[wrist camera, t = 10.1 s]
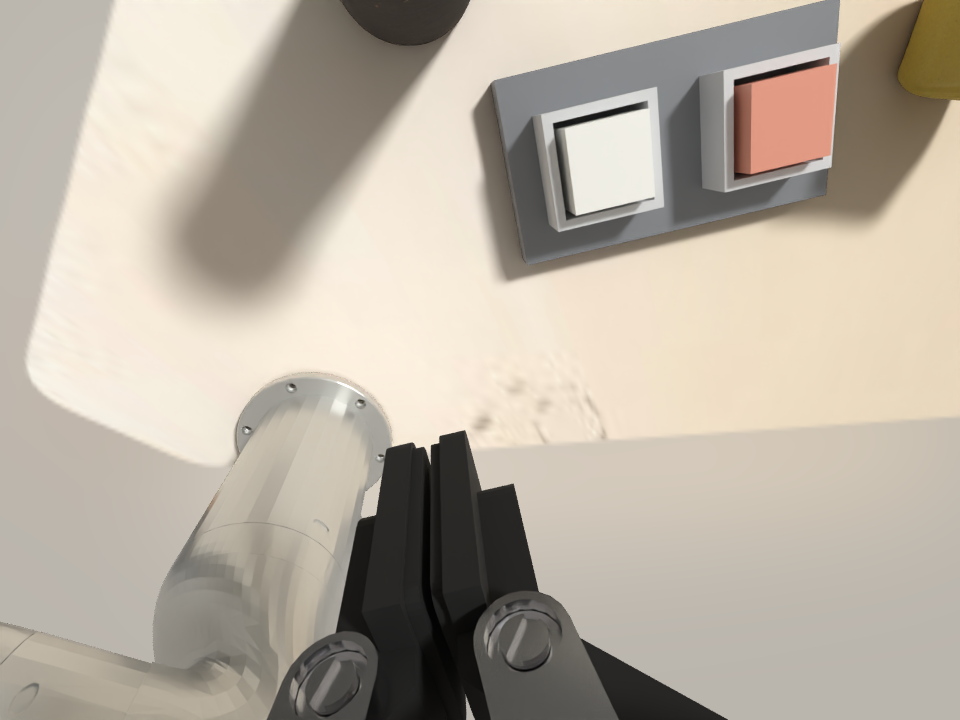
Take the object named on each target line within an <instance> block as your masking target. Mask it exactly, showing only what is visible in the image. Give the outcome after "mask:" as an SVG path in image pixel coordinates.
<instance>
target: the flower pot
mask: <svg viewBox="0 0 960 720" xmlns="http://www.w3.org/2000/svg"><path fill="white" fill-rule="evenodd" d="M897 78H898V81H899V83H900V84H901V85H902V86H903V88H904V89H906V90H907V91H908V92H910V93H912V94H915V95H918V96H922V97H928V98H936V99H950V100H960V0H924V1H923V4H922V7H921V10H920V12H919V15H918V18H917V21H916V24H915V27H914V29H913V32H912V35H911V38H910V41H909V44H908V46H907V49H906V52H905V54H904V57H903V60H902V63H901V65H900V68H899V71H898V75H897Z"/></svg>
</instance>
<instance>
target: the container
mask: <svg viewBox="0 0 960 720" xmlns="http://www.w3.org/2000/svg"><path fill="white" fill-rule="evenodd" d="M341 2H342V3H343V5H344V6H345V8H346V9H347V10H348V12H349V13H350V14H351V16H352V17H353V18H354V19H355V20H356V21H357V22H358V24H359V25H361V26H362V27H363V28H364V29H365V30H366V31H368V32H369V33H371V34H372V35H374V36H375V37H377V38H379V39H381V40H384V41H386V42H389V43H393V44H398V45H421V44H425V43H428V42H431V41H434V40H436V39H438V38H439V37H441V36H443V35H444V34H446V33H447V32H448V31H449V30H450V29H451V28H452V27H453V26H454V25H455V24H456V23H457V22H458V21H459V19H460V18H461V17H462V15H463V14H464V12H465V10H466V8H467V6H468V4H469V2H470V0H341Z"/></svg>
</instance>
